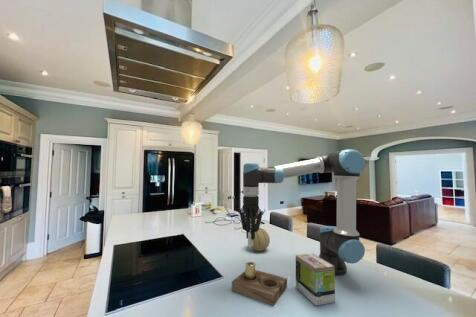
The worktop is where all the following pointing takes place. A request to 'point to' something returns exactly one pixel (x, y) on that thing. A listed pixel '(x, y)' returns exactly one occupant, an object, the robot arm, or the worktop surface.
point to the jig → (261, 286)
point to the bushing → (250, 271)
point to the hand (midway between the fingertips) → (250, 245)
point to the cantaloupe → (261, 240)
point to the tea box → (315, 278)
